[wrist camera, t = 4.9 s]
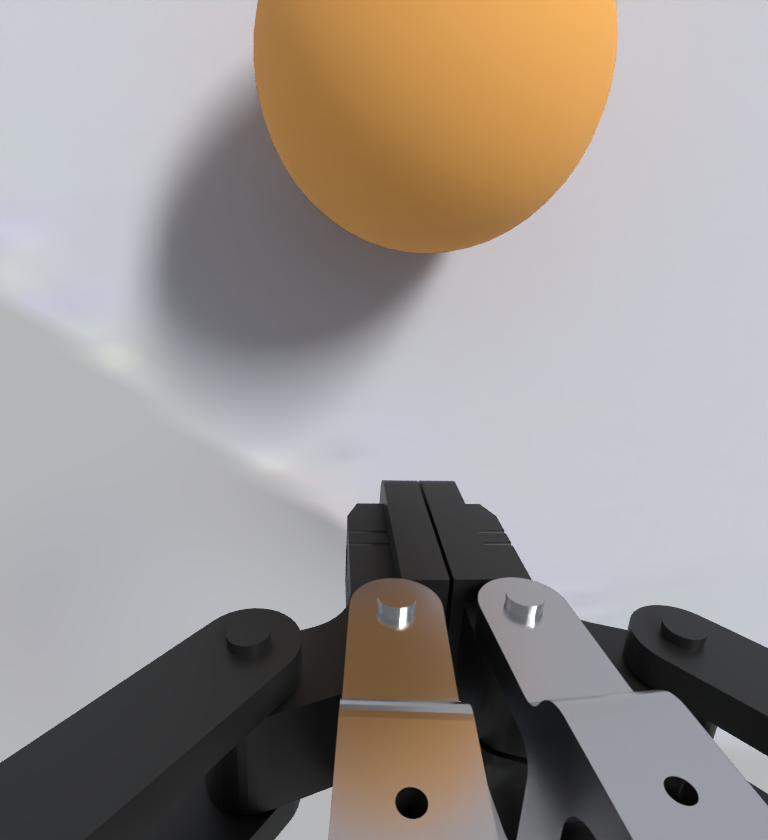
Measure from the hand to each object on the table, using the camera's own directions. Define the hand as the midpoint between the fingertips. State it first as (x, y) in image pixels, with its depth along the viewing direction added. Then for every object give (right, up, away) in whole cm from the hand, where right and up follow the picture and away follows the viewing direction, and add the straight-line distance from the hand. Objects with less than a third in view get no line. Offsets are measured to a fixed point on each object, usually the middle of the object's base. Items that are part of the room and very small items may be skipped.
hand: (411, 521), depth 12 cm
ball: (0, +8, -2) cm, 8 cm away
